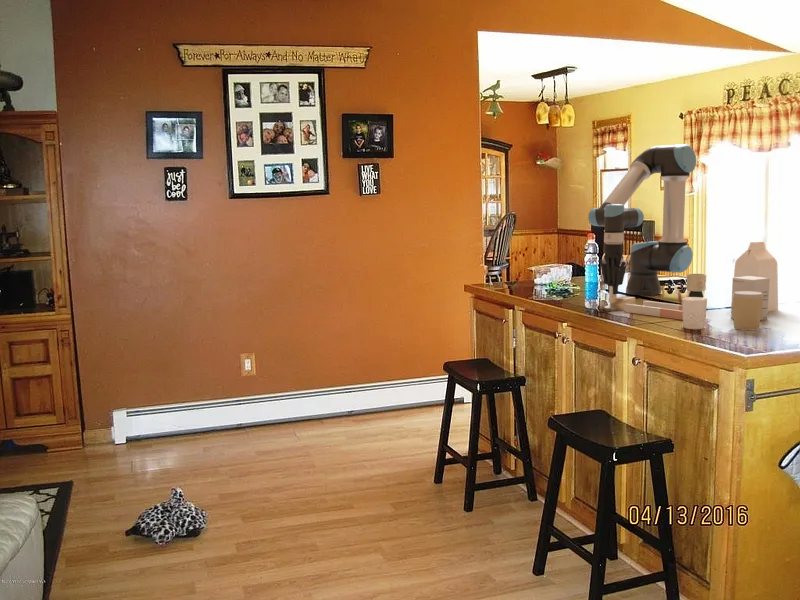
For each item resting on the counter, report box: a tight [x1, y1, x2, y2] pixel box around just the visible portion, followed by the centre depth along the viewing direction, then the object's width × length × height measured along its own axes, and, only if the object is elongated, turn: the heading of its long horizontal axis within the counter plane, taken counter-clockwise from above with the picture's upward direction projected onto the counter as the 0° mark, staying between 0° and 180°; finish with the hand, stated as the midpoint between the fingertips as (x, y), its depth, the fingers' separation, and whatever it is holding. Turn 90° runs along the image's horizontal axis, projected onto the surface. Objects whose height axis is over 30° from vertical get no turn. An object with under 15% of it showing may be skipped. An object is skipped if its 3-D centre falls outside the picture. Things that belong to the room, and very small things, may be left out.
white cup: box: [681, 296, 708, 330], centre depth 262 cm, size 8×8×10 cm
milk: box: [731, 240, 779, 312], centre depth 295 cm, size 12×12×26 cm
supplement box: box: [730, 276, 770, 321], centre depth 276 cm, size 9×9×15 cm
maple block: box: [609, 295, 636, 311], centre depth 307 cm, size 7×7×4 cm
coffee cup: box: [733, 291, 763, 331], centre depth 259 cm, size 9×9×12 cm
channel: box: [623, 300, 683, 321], centre depth 291 cm, size 26×13×3 cm, turn 36°
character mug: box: [686, 273, 707, 298], centre depth 304 cm, size 11×7×13 cm, turn 5°
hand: (612, 301), depth 310 cm, fingers closed
